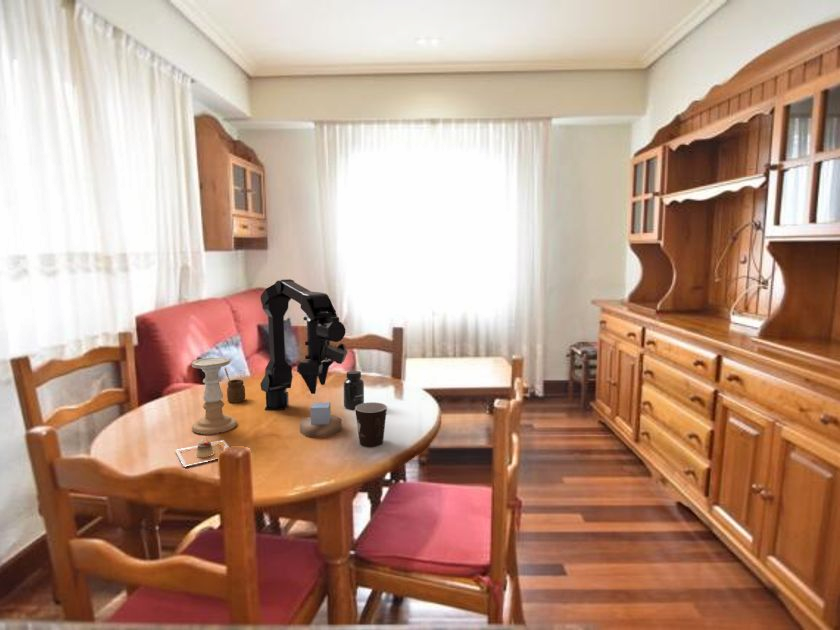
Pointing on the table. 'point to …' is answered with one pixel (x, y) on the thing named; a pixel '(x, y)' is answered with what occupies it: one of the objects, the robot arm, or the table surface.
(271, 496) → the table surface
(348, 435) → the table surface
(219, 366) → the candle holder
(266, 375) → the robot arm
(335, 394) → the table surface
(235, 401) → the utensil holder
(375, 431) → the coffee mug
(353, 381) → the supplement bottle
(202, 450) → the dessert
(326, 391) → the table surface
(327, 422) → the blue cube
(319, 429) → the brown disc
